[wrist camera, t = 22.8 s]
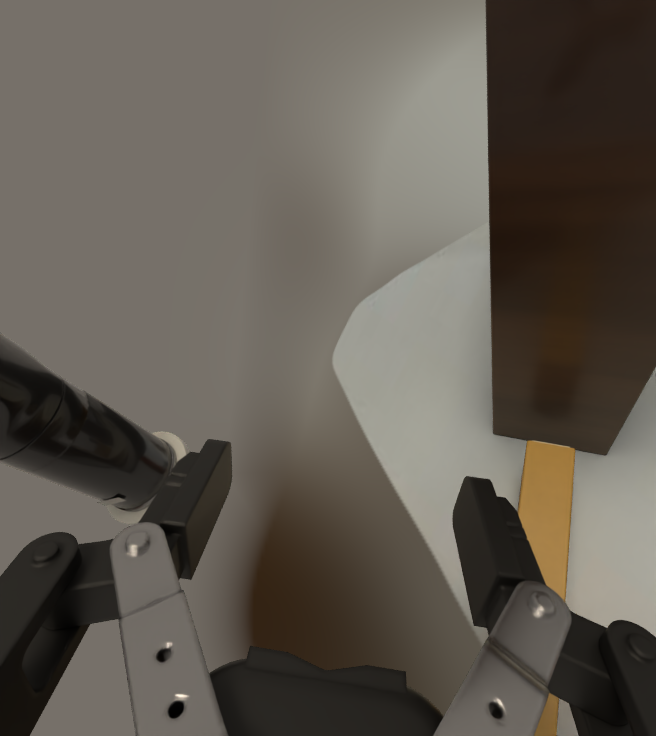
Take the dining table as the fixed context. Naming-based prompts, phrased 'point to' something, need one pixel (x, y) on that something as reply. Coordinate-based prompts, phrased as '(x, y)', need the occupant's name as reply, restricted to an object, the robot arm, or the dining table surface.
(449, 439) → the dining table surface
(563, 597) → the mustard yellow plank
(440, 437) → the dining table surface
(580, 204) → the dark brown tall slab
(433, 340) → the dining table surface
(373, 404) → the dining table surface
